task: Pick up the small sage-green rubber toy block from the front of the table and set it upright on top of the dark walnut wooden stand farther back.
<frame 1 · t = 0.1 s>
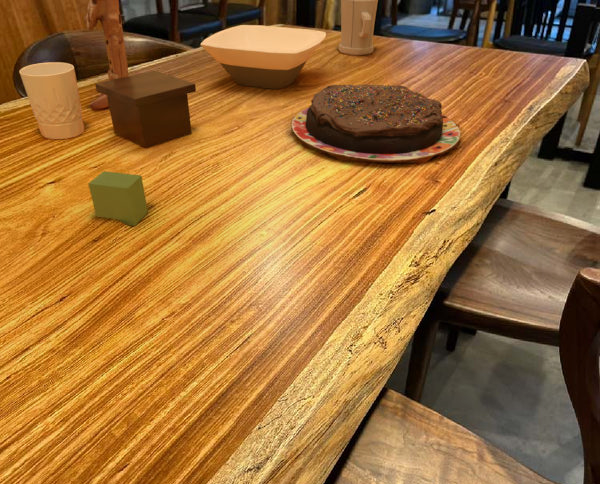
figurine: (112, 103, 101), on the table
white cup: (63, 133, 89), on the table
chocolate cake: (374, 134, 90), on the table
toy: (123, 216, 66), on the table
cup: (358, 53, 135), on the table
stand: (153, 133, 88), on the table
bowl: (267, 81, 114), on the table
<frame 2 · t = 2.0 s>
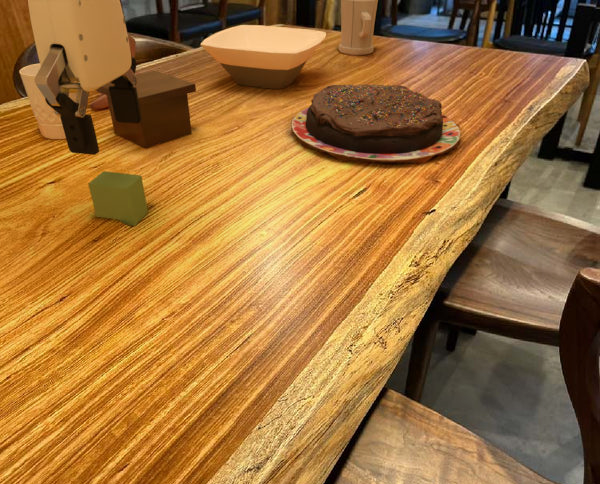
hand: (108, 136, 60), 10 cm above the table, tool pointing down, fingers open, 9 cm apart
nothing on the table moved.
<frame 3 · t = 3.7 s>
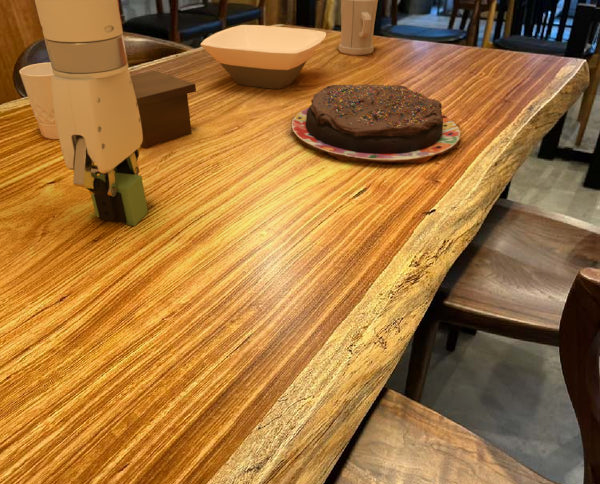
hand: (122, 212, 66), 1 cm above the table, tool pointing down, fingers closed on toy, 3 cm apart
toy: (123, 216, 66), on the table, touching gripper
everything else where it was.
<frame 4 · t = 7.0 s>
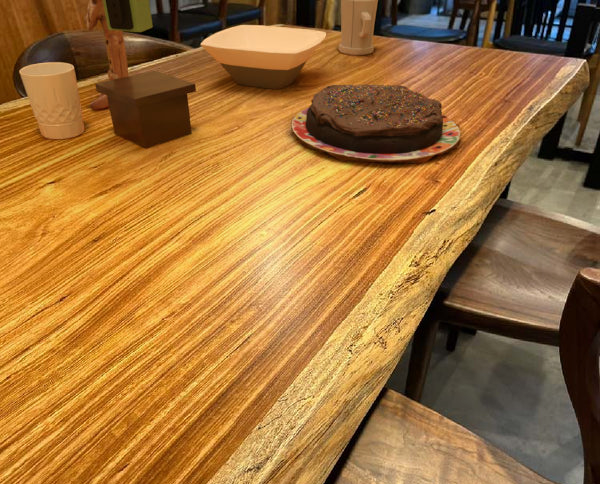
hand: (129, 24, 74), 17 cm above the table, tool pointing down, fingers closed on toy, 3 cm apart
toy: (130, 28, 75), point 17 cm above the table, touching gripper
everything else where it was.
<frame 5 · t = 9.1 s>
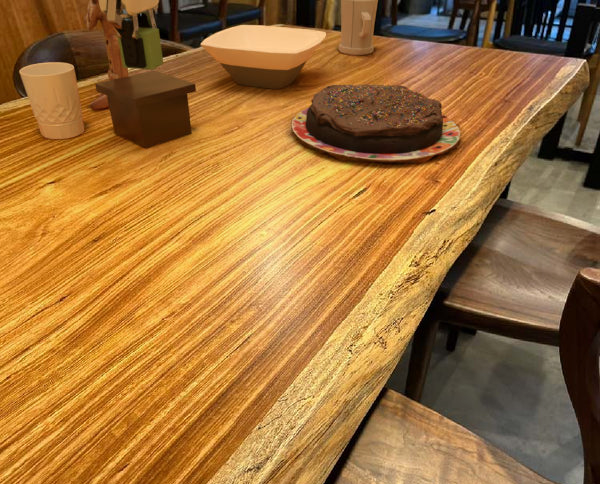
hand: (142, 61, 82), 11 cm above the table, tool pointing down, fingers closed on toy, 3 cm apart
toy: (143, 65, 82), point 11 cm above the table, touching gripper
everything else where it was.
when the fingers open (9 cm above the table, at t = 10.3 s): toy stays where it is, resting on stand.
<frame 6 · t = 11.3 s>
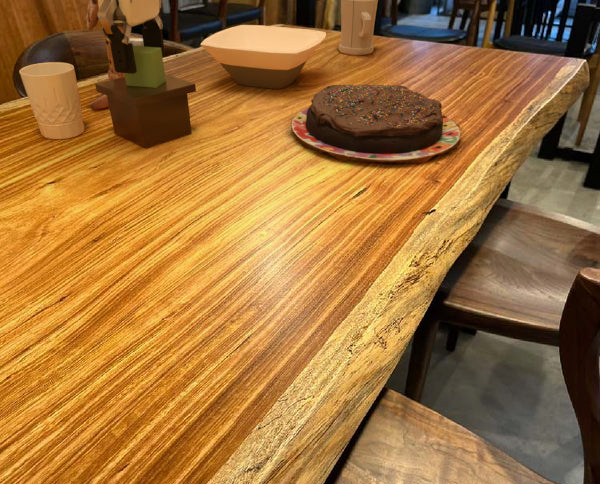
hand: (141, 64, 82), 11 cm above the table, tool pointing down, fingers open, 9 cm apart
toy: (146, 83, 84), point 8 cm above the table, touching stand
everything else where it was.
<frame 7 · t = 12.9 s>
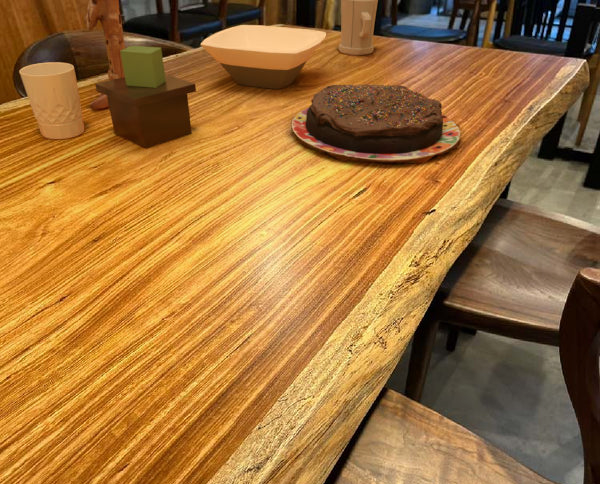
nothing on the table moved.
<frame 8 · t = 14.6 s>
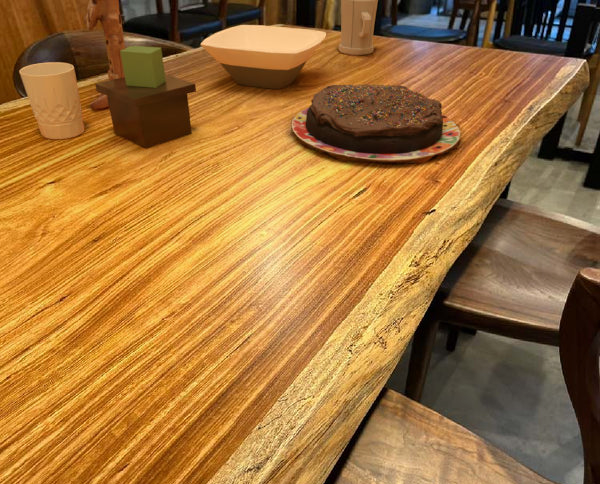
nothing on the table moved.
at the end: toy inside the target area on the stand (0.1 cm from its centre), point 8.0 cm above the stand's base; toy tilted 0°; the gripper is holding nothing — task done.
